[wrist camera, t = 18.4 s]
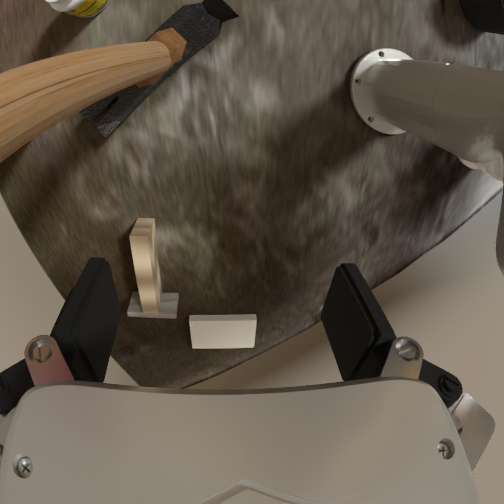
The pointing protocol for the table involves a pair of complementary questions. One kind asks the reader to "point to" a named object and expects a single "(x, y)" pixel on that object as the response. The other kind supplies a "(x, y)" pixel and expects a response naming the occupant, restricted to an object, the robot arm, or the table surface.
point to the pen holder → (485, 14)
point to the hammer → (101, 77)
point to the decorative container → (488, 167)
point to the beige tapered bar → (148, 275)
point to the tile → (222, 331)
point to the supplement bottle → (79, 7)
